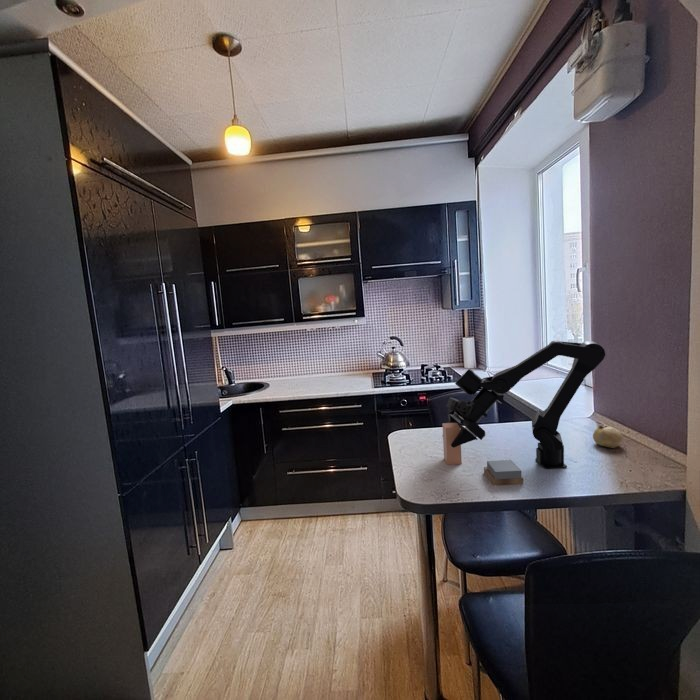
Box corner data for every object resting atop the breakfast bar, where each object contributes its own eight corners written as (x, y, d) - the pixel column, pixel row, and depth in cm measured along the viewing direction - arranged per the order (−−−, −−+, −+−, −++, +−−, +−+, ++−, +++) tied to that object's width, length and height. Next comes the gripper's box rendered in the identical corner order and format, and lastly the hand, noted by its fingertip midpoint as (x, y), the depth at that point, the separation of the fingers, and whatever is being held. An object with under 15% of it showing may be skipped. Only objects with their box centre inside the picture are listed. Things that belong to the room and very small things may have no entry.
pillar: (457, 457, 120) (456, 422, 119) (461, 463, 116) (460, 427, 115) (444, 458, 121) (442, 423, 119) (447, 464, 116) (445, 427, 115)
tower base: (511, 472, 109) (511, 465, 109) (523, 485, 101) (523, 478, 101) (484, 474, 109) (483, 467, 109) (493, 487, 101) (493, 479, 101)
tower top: (511, 467, 108) (511, 459, 107) (521, 478, 101) (521, 470, 100) (487, 468, 108) (486, 461, 108) (495, 479, 101) (495, 471, 101)
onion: (613, 440, 125) (613, 420, 124) (628, 450, 117) (628, 428, 116) (588, 441, 126) (588, 421, 125) (601, 450, 118) (601, 429, 117)
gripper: (451, 383, 125) (421, 417, 126) (473, 395, 106) (437, 436, 107) (475, 403, 126) (445, 437, 127) (500, 419, 108) (465, 459, 109)
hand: (447, 441), depth 117 cm, fingers open, 8 cm apart
